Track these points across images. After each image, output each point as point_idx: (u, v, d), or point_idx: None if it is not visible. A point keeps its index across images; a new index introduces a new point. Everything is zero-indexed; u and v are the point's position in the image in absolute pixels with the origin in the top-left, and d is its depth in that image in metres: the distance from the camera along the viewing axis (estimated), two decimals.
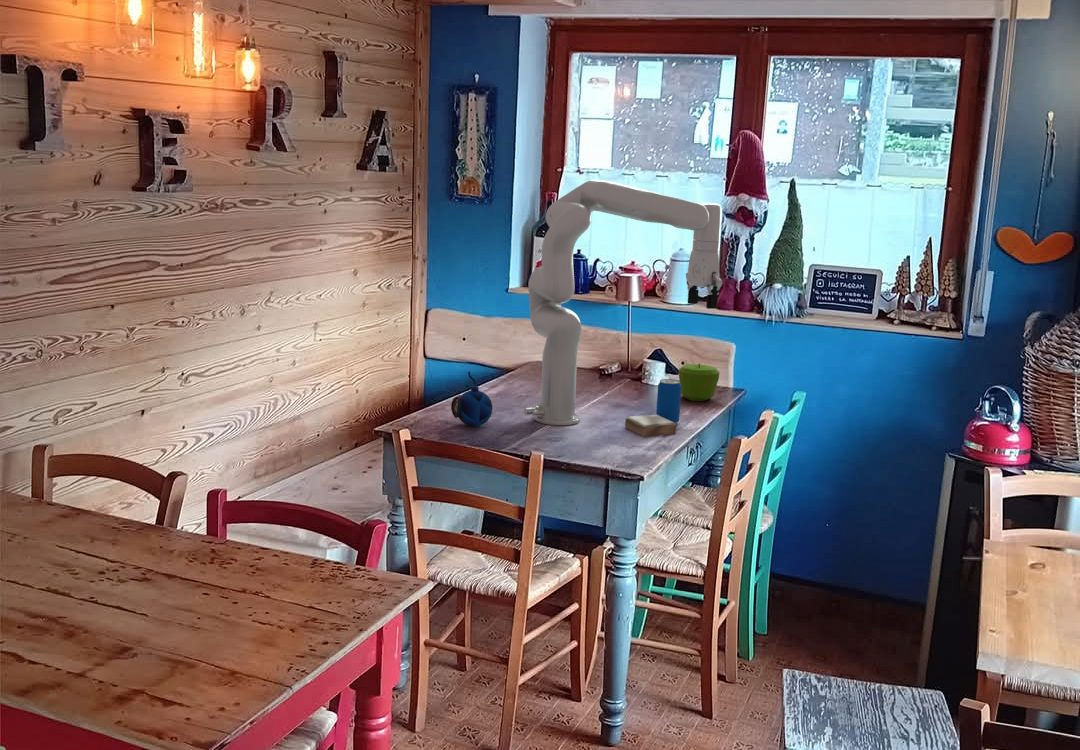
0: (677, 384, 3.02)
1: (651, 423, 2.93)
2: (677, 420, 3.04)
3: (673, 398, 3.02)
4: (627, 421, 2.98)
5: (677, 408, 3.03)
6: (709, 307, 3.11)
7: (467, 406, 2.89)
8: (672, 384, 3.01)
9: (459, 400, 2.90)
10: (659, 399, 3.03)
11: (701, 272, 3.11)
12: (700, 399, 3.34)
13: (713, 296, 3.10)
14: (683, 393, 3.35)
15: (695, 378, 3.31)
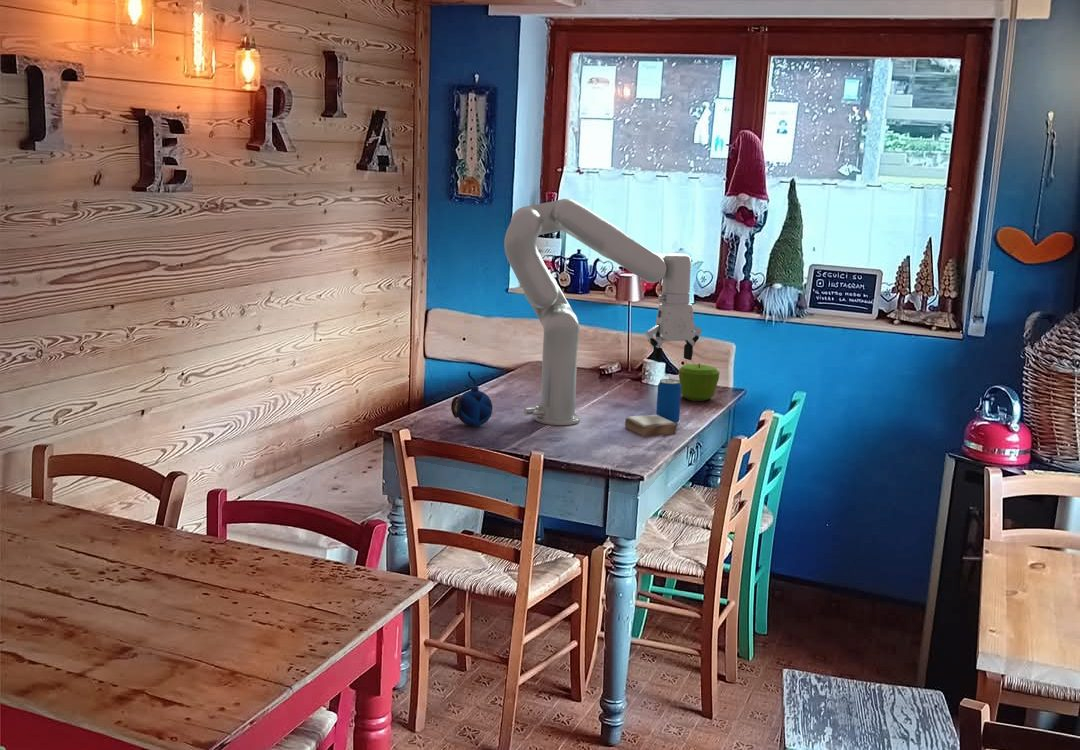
0: (677, 384, 3.02)
1: (651, 423, 2.93)
2: (677, 420, 3.04)
3: (673, 398, 3.02)
4: (627, 421, 2.98)
5: (677, 408, 3.03)
6: None
7: (467, 406, 2.89)
8: (672, 384, 3.01)
9: (459, 400, 2.90)
10: (659, 399, 3.03)
11: (688, 325, 2.99)
12: (700, 399, 3.34)
13: None
14: (683, 393, 3.35)
15: (695, 378, 3.31)
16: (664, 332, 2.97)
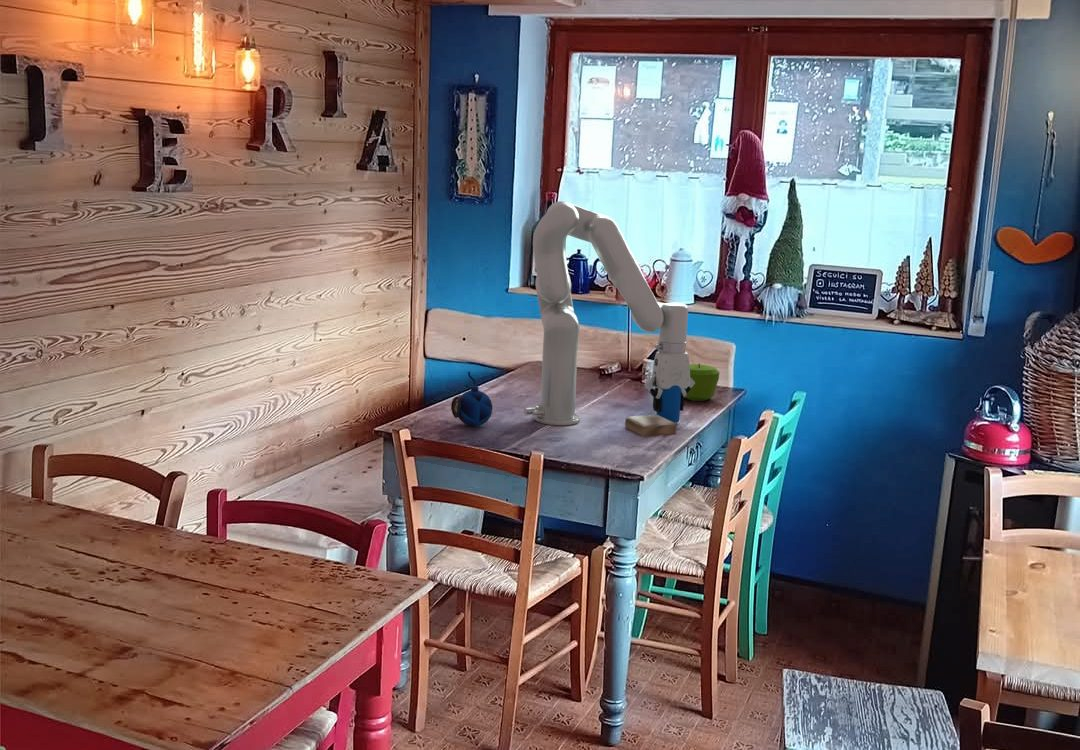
0: None
1: (651, 423, 2.93)
2: (677, 420, 3.04)
3: (673, 398, 3.02)
4: (627, 421, 2.98)
5: (677, 408, 3.03)
6: None
7: (467, 406, 2.89)
8: None
9: (459, 400, 2.90)
10: None
11: (684, 373, 3.02)
12: (700, 399, 3.34)
13: None
14: None
15: (695, 378, 3.31)
16: (660, 380, 3.00)
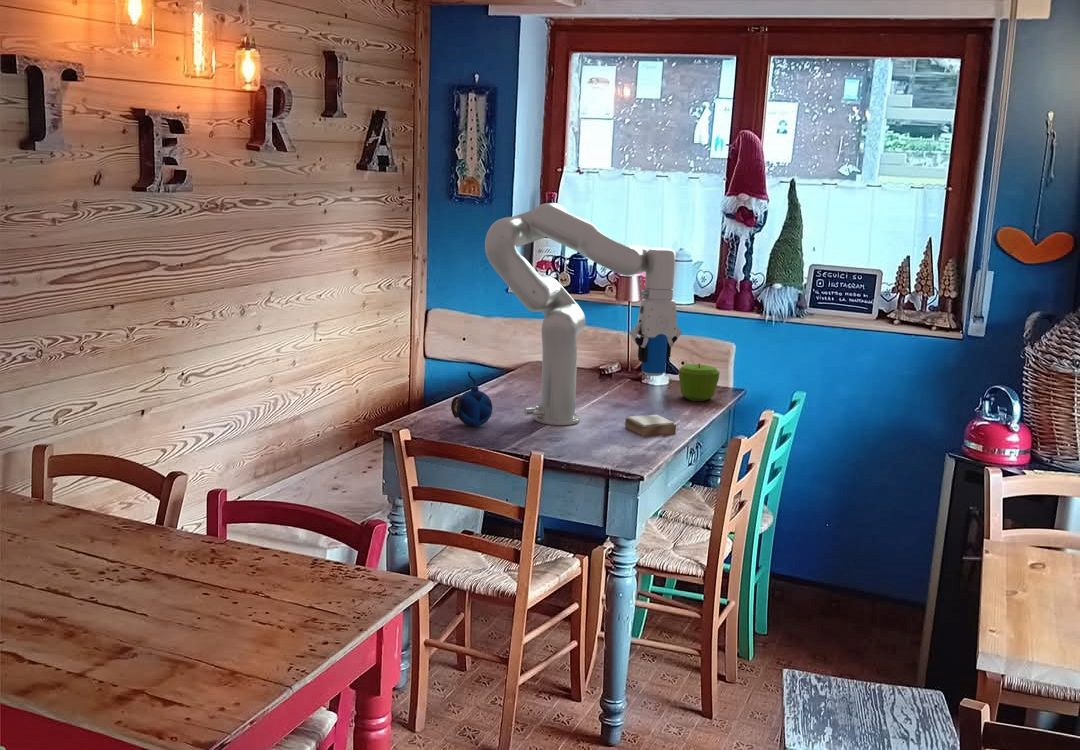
0: None
1: (651, 423, 2.93)
2: (663, 371, 2.92)
3: (659, 348, 2.90)
4: (627, 421, 2.98)
5: (663, 358, 2.91)
6: None
7: (467, 406, 2.89)
8: None
9: (459, 400, 2.90)
10: None
11: (670, 322, 2.90)
12: (700, 399, 3.34)
13: None
14: (683, 393, 3.35)
15: (695, 378, 3.31)
16: (646, 329, 2.88)
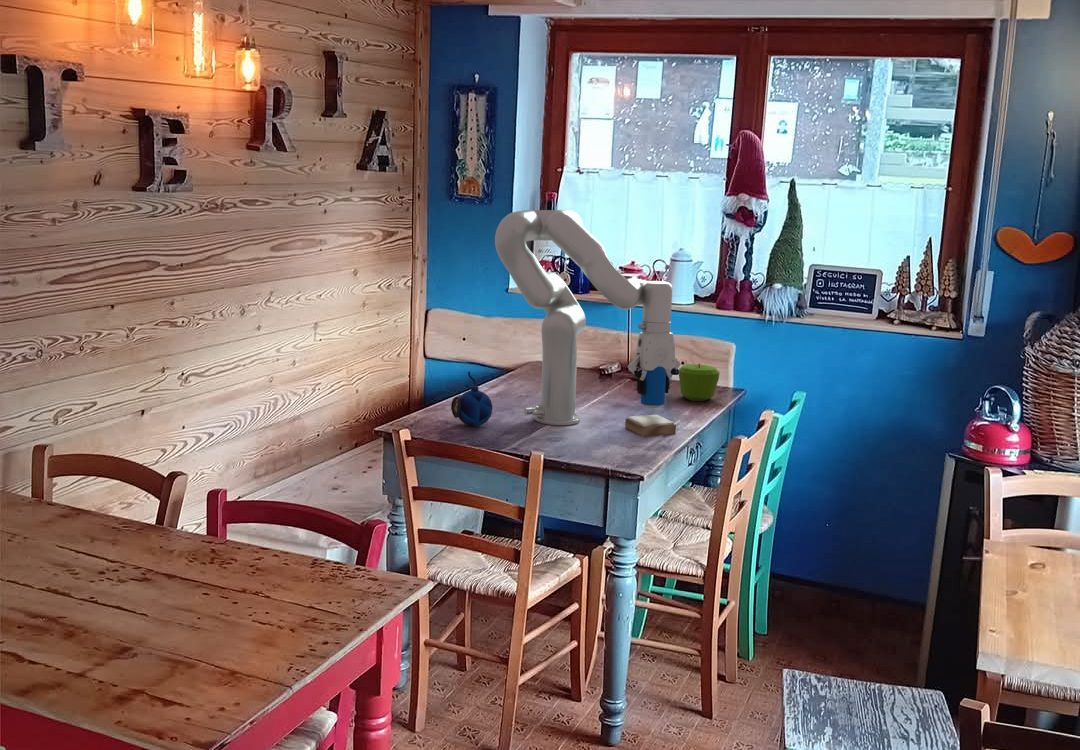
0: None
1: (651, 423, 2.93)
2: (662, 403, 2.94)
3: (658, 380, 2.91)
4: (627, 421, 2.98)
5: (662, 390, 2.93)
6: None
7: (467, 406, 2.89)
8: None
9: (459, 400, 2.90)
10: None
11: (669, 354, 2.92)
12: (700, 399, 3.34)
13: None
14: (683, 393, 3.35)
15: (695, 378, 3.31)
16: (644, 362, 2.89)
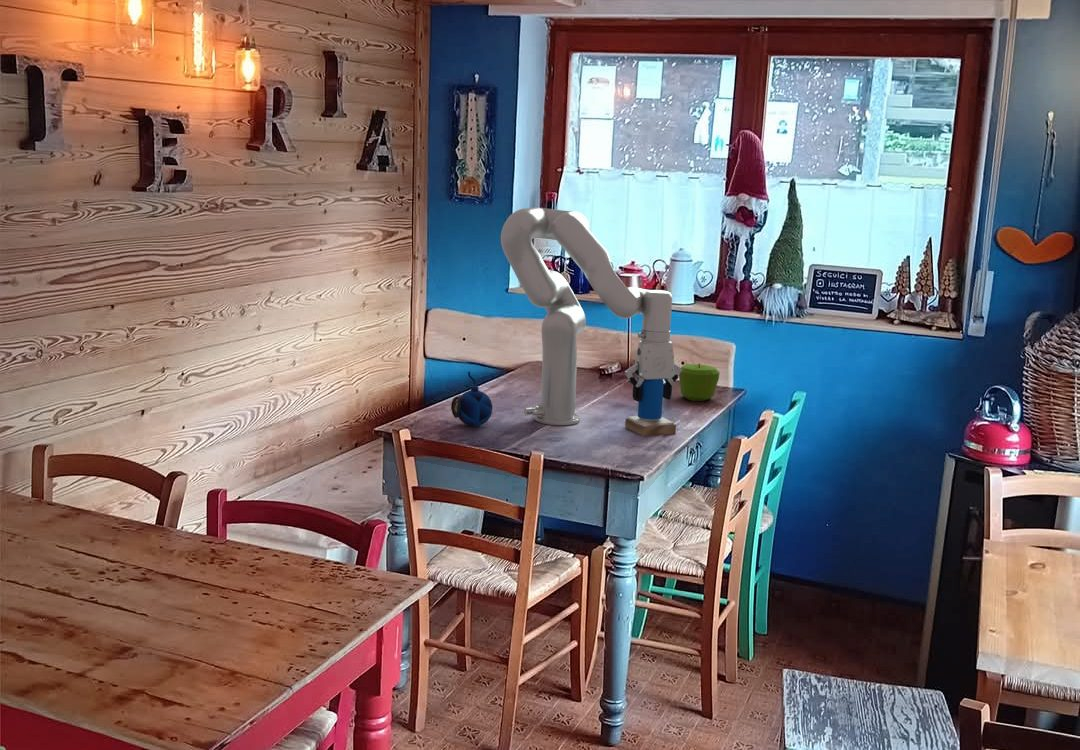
0: (659, 379, 2.92)
1: (651, 423, 2.93)
2: (659, 417, 2.94)
3: (655, 394, 2.92)
4: (627, 421, 2.98)
5: (659, 404, 2.93)
6: None
7: (467, 406, 2.89)
8: (654, 379, 2.92)
9: (459, 400, 2.90)
10: (641, 395, 2.94)
11: (668, 363, 2.92)
12: (700, 399, 3.34)
13: None
14: (683, 393, 3.35)
15: (695, 378, 3.31)
16: (643, 370, 2.90)
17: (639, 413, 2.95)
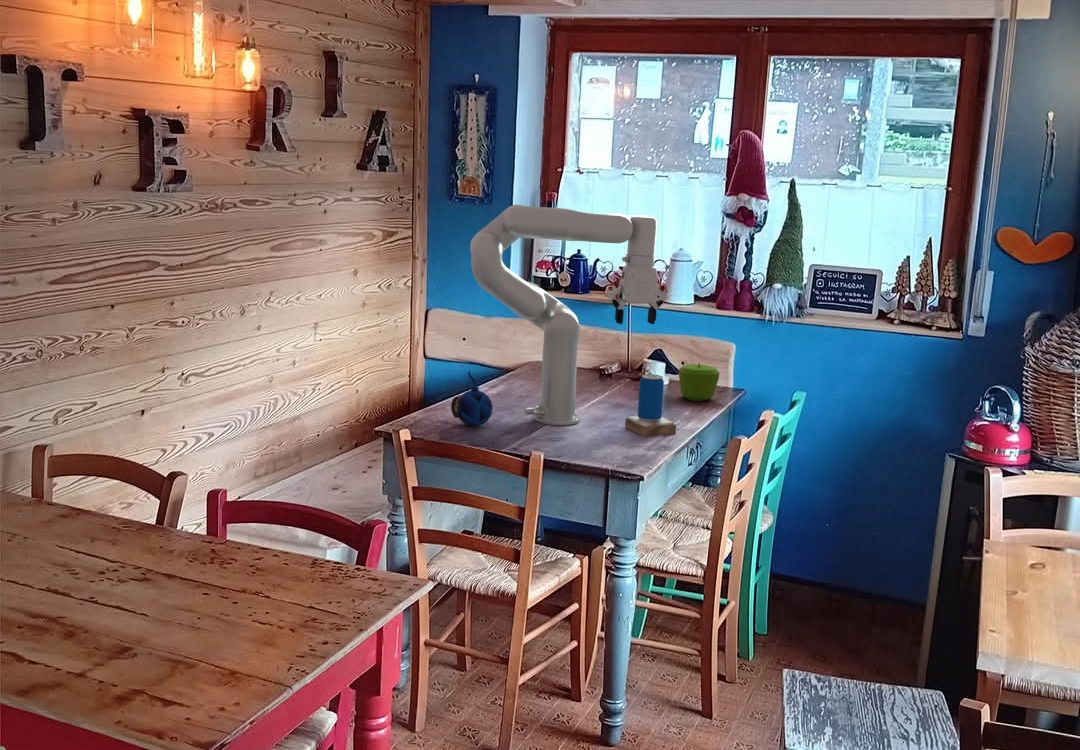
0: (659, 379, 2.92)
1: (651, 423, 2.93)
2: (659, 417, 2.94)
3: (655, 394, 2.92)
4: (627, 421, 2.98)
5: (659, 404, 2.93)
6: None
7: (467, 406, 2.89)
8: (654, 379, 2.92)
9: (459, 400, 2.90)
10: (641, 395, 2.94)
11: (651, 288, 2.97)
12: (700, 399, 3.34)
13: None
14: (683, 393, 3.35)
15: (695, 378, 3.31)
16: (626, 293, 2.95)
17: (639, 413, 2.95)
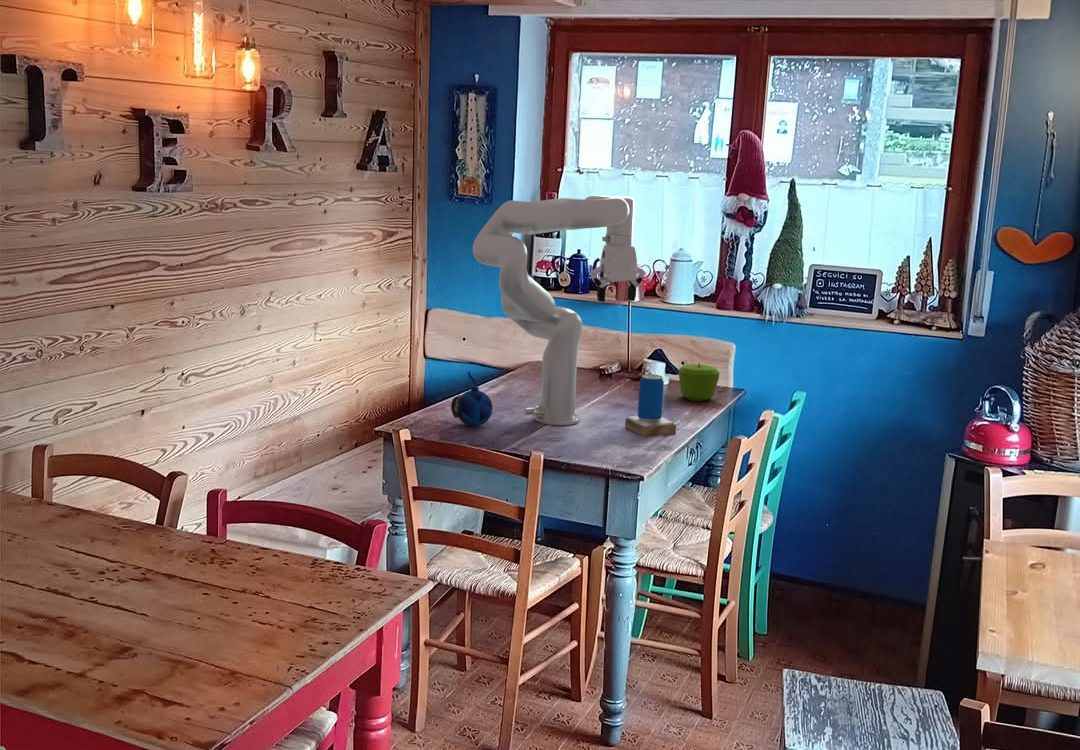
0: (659, 379, 2.92)
1: (651, 423, 2.93)
2: (659, 417, 2.94)
3: (655, 394, 2.92)
4: (627, 421, 2.98)
5: (659, 404, 2.93)
6: None
7: (467, 406, 2.89)
8: (654, 379, 2.92)
9: (459, 400, 2.90)
10: (641, 395, 2.94)
11: (631, 266, 3.08)
12: (700, 399, 3.34)
13: None
14: (683, 393, 3.35)
15: (695, 378, 3.31)
16: (607, 272, 3.05)
17: (639, 413, 2.95)
